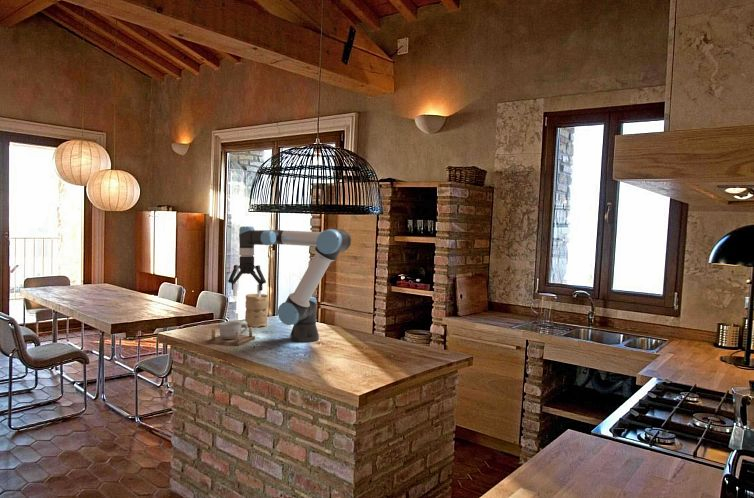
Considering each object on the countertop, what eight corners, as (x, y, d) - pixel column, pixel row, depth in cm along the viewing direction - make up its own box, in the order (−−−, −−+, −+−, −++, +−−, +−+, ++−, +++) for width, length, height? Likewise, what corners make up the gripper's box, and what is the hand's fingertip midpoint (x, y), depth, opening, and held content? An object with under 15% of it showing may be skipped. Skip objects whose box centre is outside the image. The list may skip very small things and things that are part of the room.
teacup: (217, 340, 277) (217, 324, 276) (220, 335, 287) (221, 320, 287) (246, 340, 278) (246, 325, 278) (248, 336, 289) (248, 320, 289)
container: (271, 325, 327) (272, 295, 326) (256, 328, 316) (256, 297, 315) (255, 322, 333) (256, 293, 332) (240, 325, 323) (241, 295, 322)
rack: (255, 339, 289) (255, 326, 289) (238, 346, 273) (238, 333, 272) (226, 336, 294) (226, 324, 293) (208, 343, 277) (208, 330, 277)
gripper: (272, 255, 289) (272, 296, 289) (228, 255, 294) (228, 294, 295) (266, 256, 281) (266, 298, 282) (221, 256, 287) (221, 296, 287)
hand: (247, 296), depth 288 cm, fingers open, 13 cm apart
